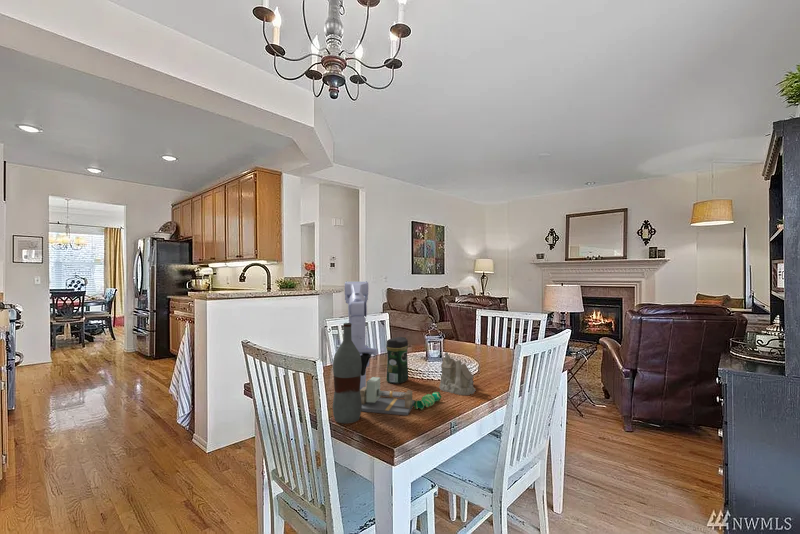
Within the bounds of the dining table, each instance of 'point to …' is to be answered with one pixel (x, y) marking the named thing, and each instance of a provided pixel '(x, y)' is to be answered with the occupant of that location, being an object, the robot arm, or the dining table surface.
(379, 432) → the dining table surface
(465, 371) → the jagged grey rock
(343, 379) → the bottle
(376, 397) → the grey square nut
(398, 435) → the dining table surface
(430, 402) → the candy
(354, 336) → the robot arm
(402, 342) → the coffee jar
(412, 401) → the pipe rig
